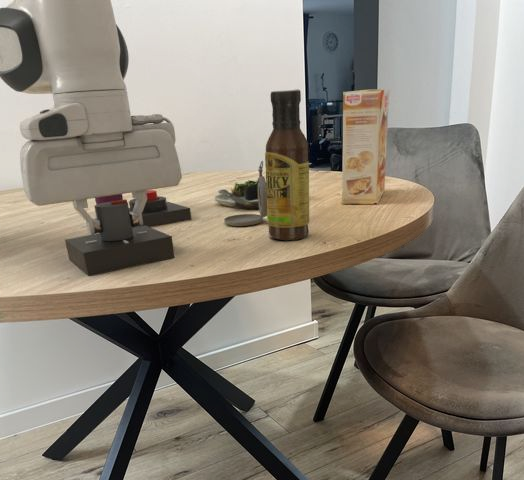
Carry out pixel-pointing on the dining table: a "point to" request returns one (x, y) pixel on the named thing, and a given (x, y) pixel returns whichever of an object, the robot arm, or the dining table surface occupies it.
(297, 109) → the sauce bottle
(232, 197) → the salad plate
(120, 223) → the timer knob
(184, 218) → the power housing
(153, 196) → the power button
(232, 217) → the pocket watch
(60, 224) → the dining table surface
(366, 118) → the coffeecake box
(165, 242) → the panel
